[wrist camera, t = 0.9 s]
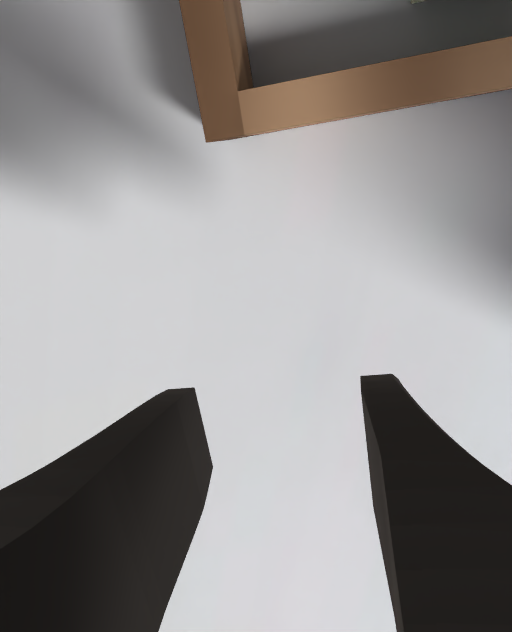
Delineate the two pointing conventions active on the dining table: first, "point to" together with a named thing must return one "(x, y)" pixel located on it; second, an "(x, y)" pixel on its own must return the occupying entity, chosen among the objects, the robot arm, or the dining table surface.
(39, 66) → the dining table surface
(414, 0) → the cube
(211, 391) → the dining table surface
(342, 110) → the frame
